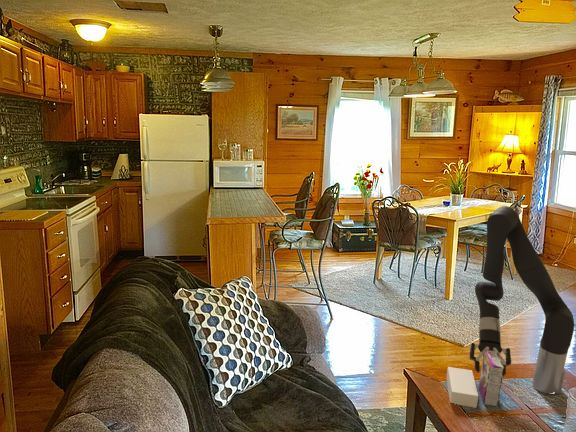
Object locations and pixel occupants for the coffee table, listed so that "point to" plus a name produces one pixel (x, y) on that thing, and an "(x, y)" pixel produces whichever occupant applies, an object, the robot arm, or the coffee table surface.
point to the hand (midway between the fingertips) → (490, 374)
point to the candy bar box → (491, 377)
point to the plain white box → (462, 387)
